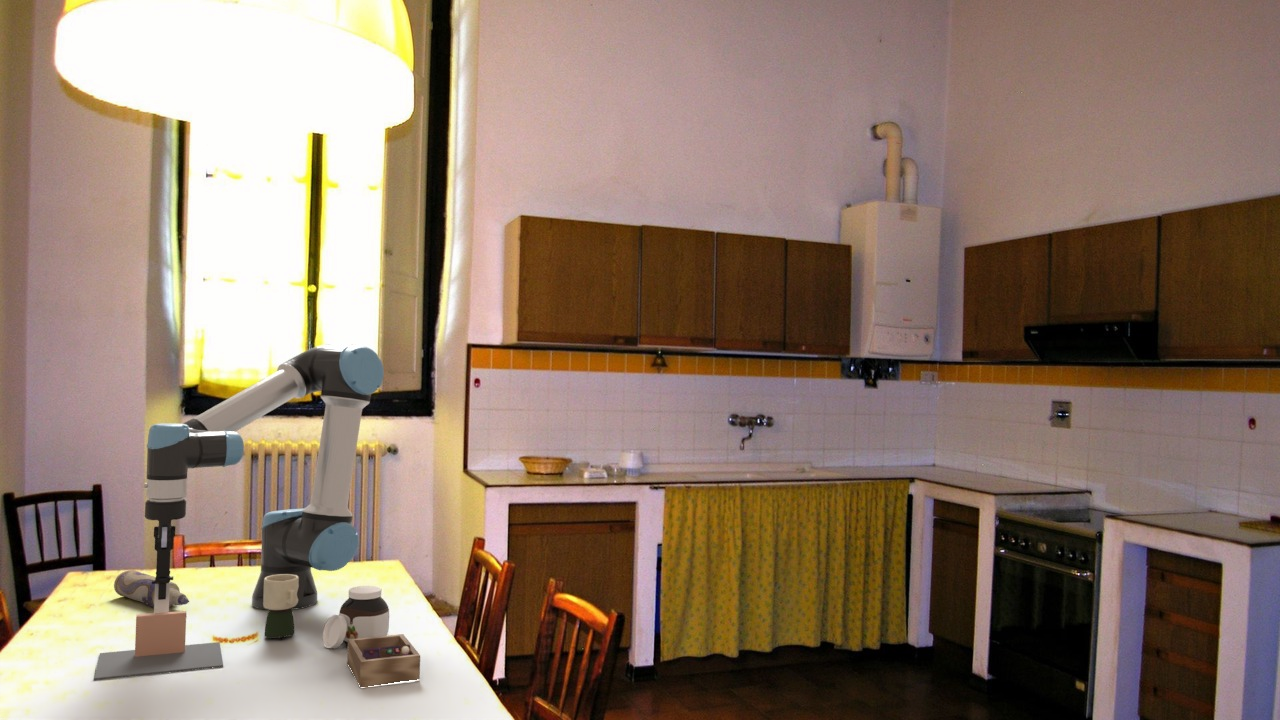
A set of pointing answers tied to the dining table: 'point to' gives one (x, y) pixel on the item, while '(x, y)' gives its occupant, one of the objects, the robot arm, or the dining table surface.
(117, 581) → the decorative bottle
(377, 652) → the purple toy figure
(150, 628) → the terracotta tile
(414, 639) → the dining table surface
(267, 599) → the character mug
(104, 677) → the rubber mat
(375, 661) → the open wooden trinket box
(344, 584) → the dining table surface
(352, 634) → the spread jar
